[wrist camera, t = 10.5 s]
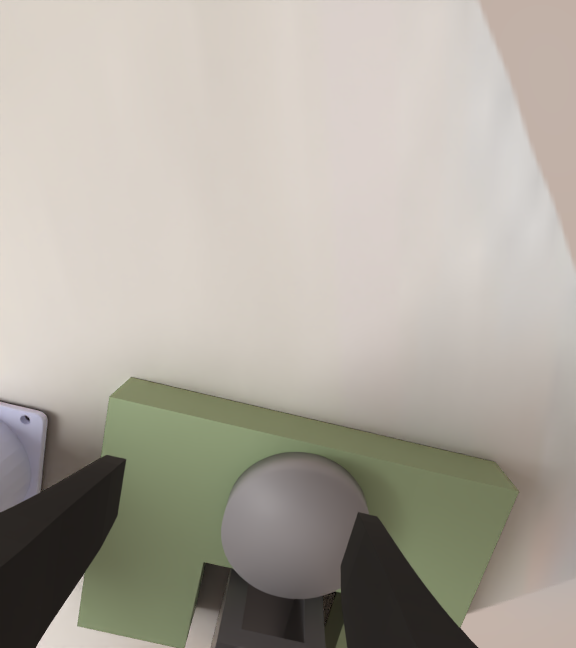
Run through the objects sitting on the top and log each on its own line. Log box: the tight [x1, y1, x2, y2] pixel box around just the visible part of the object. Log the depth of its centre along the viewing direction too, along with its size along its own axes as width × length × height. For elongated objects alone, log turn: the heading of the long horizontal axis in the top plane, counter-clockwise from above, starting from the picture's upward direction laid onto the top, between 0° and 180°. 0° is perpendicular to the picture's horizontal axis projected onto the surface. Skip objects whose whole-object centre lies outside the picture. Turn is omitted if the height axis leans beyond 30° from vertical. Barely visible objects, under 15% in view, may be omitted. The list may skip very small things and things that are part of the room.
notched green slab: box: [77, 377, 519, 648], centre depth 21 cm, size 20×14×4 cm
